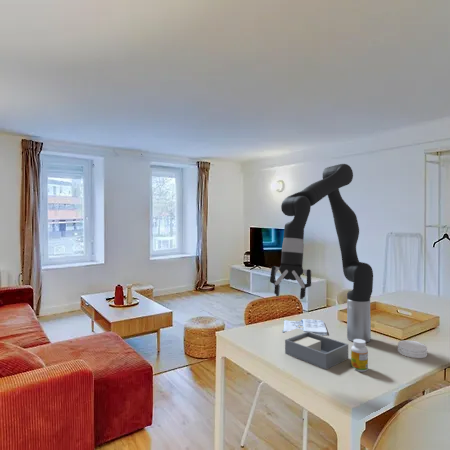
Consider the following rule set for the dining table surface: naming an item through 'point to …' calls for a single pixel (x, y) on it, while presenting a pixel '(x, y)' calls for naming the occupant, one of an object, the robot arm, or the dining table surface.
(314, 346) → the beige rectangular block
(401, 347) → the white round bowl
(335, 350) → the crate
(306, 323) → the folded white cloth
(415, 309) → the dining table surface
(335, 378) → the dining table surface
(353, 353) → the supplement bottle
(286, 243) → the robot arm
